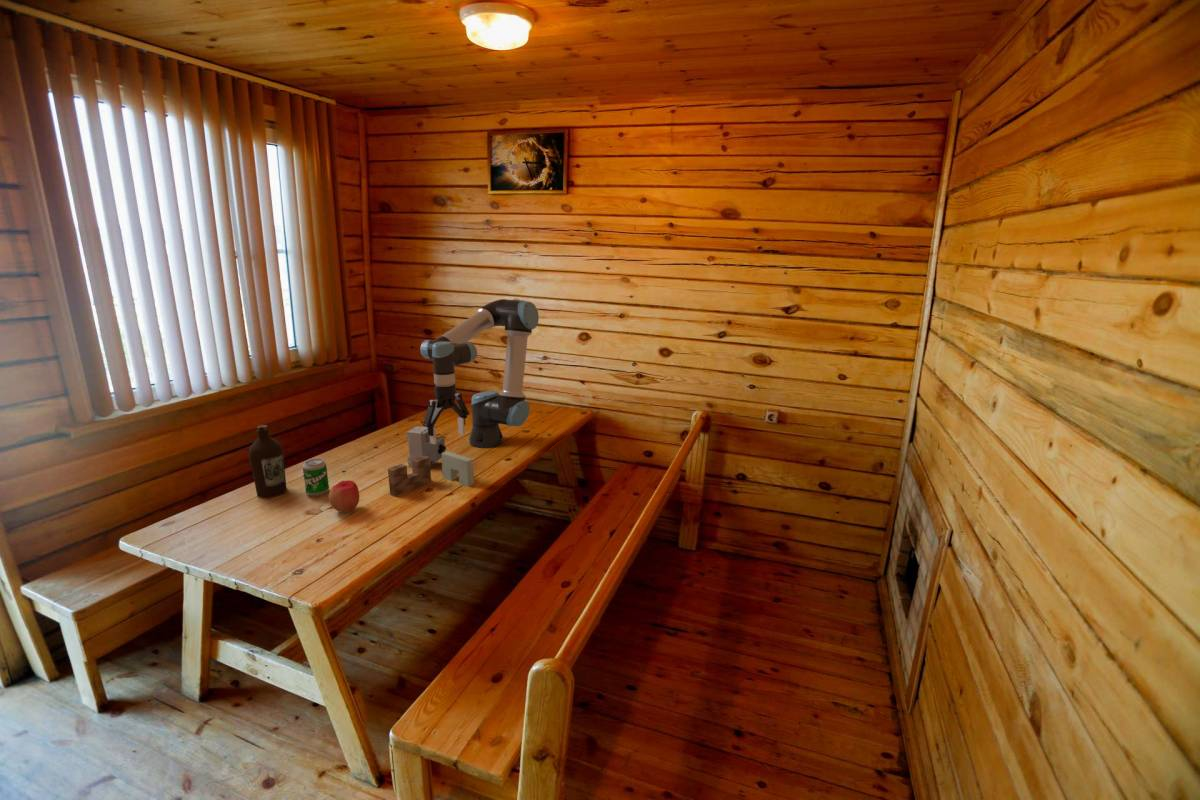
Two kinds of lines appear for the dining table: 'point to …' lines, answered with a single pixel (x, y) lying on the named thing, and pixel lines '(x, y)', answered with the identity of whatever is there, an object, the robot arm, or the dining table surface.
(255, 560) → the dining table surface
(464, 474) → the grey panel
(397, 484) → the brown notched flat block
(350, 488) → the apple
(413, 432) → the circuit breaker
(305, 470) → the soda can
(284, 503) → the dining table surface
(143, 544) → the dining table surface
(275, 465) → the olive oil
